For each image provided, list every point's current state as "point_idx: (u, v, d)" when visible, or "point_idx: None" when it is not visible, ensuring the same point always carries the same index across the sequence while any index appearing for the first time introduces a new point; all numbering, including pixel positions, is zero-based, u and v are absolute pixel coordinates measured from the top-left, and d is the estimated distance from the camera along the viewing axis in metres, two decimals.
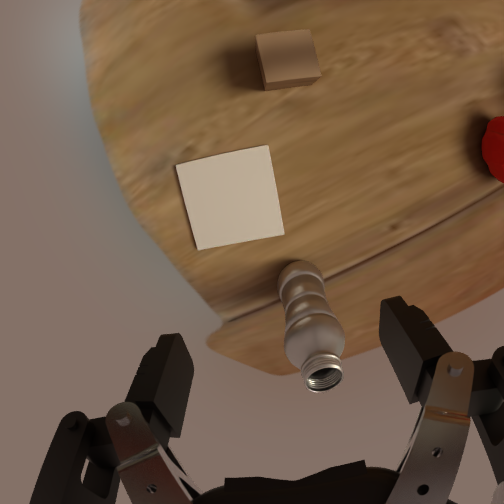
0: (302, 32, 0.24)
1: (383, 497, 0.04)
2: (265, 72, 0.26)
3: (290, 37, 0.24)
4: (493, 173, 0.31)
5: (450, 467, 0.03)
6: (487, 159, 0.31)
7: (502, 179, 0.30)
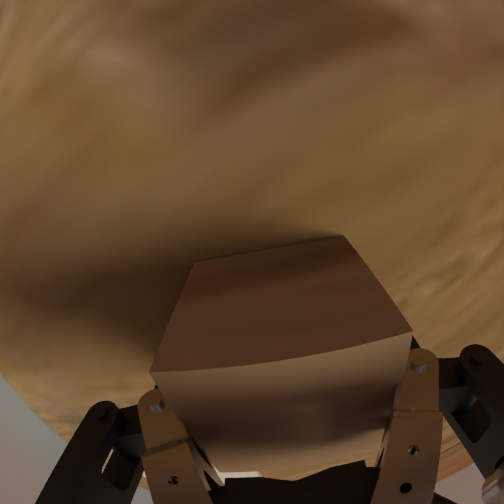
0: (376, 353, 0.06)
1: (366, 500, 0.04)
2: (213, 459, 0.08)
3: (313, 383, 0.06)
4: None
5: (430, 462, 0.03)
6: None
7: None
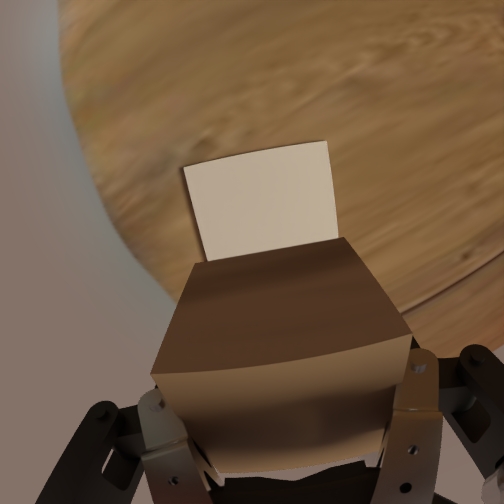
0: (375, 355, 0.06)
1: (366, 500, 0.04)
2: (213, 460, 0.08)
3: (313, 384, 0.06)
4: None
5: (430, 462, 0.03)
6: None
7: None
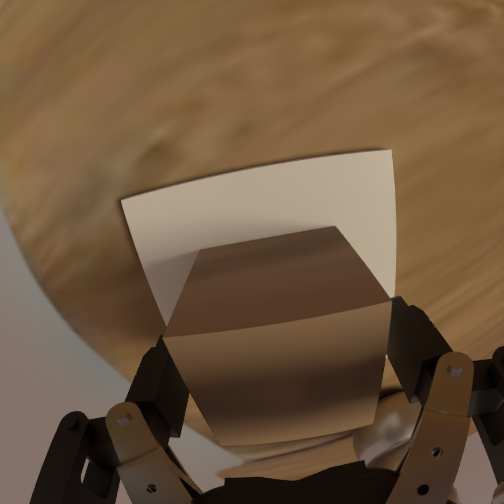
0: (360, 320, 0.07)
1: (383, 497, 0.04)
2: (215, 431, 0.09)
3: (306, 346, 0.07)
4: None
5: (450, 467, 0.03)
6: None
7: None
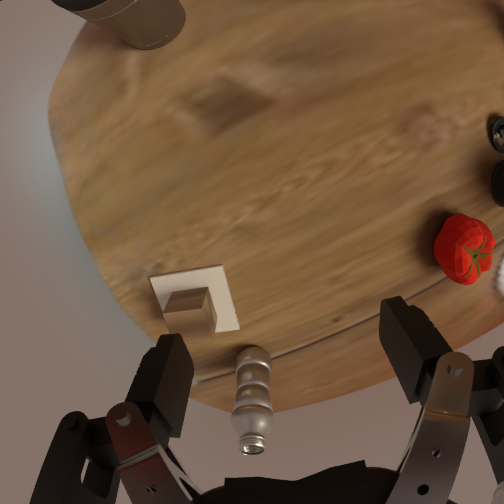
0: (196, 311, 0.39)
1: (383, 497, 0.04)
2: None
3: (187, 315, 0.39)
4: (442, 269, 0.40)
5: (451, 467, 0.03)
6: (436, 259, 0.39)
7: (449, 277, 0.38)
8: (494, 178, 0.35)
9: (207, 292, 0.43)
